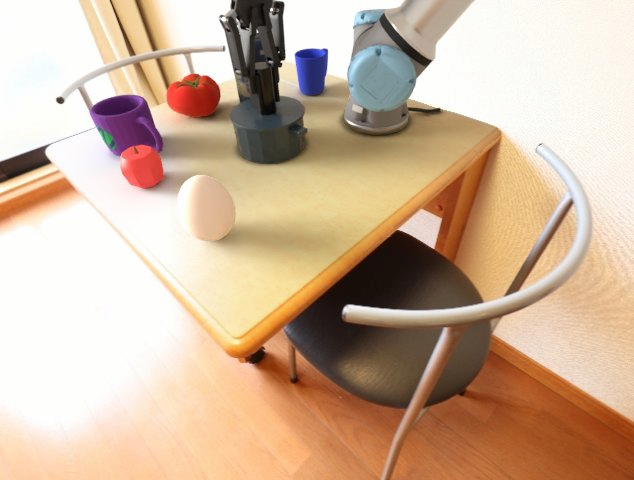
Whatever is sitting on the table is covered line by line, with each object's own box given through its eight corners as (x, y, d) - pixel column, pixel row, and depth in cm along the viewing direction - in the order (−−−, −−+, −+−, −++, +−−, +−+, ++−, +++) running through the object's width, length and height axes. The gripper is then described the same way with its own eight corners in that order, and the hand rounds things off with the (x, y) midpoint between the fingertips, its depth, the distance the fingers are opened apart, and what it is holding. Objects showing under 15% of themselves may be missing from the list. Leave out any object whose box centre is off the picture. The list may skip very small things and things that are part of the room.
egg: (225, 211, 66) (209, 155, 58) (250, 236, 61) (237, 179, 53) (180, 233, 62) (156, 177, 54) (203, 262, 57) (181, 204, 49)
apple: (121, 182, 74) (103, 146, 68) (158, 166, 78) (144, 131, 72) (139, 198, 70) (121, 162, 64) (176, 180, 73) (163, 144, 68)
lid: (268, 94, 85) (262, 47, 78) (320, 112, 77) (318, 61, 70) (215, 120, 77) (202, 69, 70) (266, 142, 69) (258, 88, 62)
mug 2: (339, 84, 105) (339, 46, 98) (316, 100, 98) (315, 60, 91) (314, 79, 108) (313, 42, 102) (291, 94, 101) (288, 55, 94)
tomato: (186, 131, 88) (175, 95, 82) (165, 114, 95) (154, 79, 89) (236, 113, 94) (229, 78, 88) (213, 98, 101) (205, 65, 95)
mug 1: (99, 151, 83) (77, 109, 76) (141, 130, 89) (125, 89, 82) (146, 174, 75) (127, 129, 68) (189, 150, 82) (175, 106, 75)
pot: (264, 121, 90) (260, 90, 85) (327, 146, 81) (326, 113, 76) (217, 145, 83) (209, 113, 78) (281, 176, 73) (276, 142, 68)
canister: (256, 98, 100) (244, 24, 88) (284, 104, 97) (277, 28, 84) (233, 112, 95) (217, 35, 82) (263, 119, 91) (251, 40, 78)
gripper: (268, -47, 65) (282, 86, 81) (188, -32, 56) (221, 114, 72) (299, -45, 61) (307, 94, 78) (219, -28, 52) (247, 125, 69)
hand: (266, 103), depth 75 cm, fingers closed on lid, 4 cm apart
